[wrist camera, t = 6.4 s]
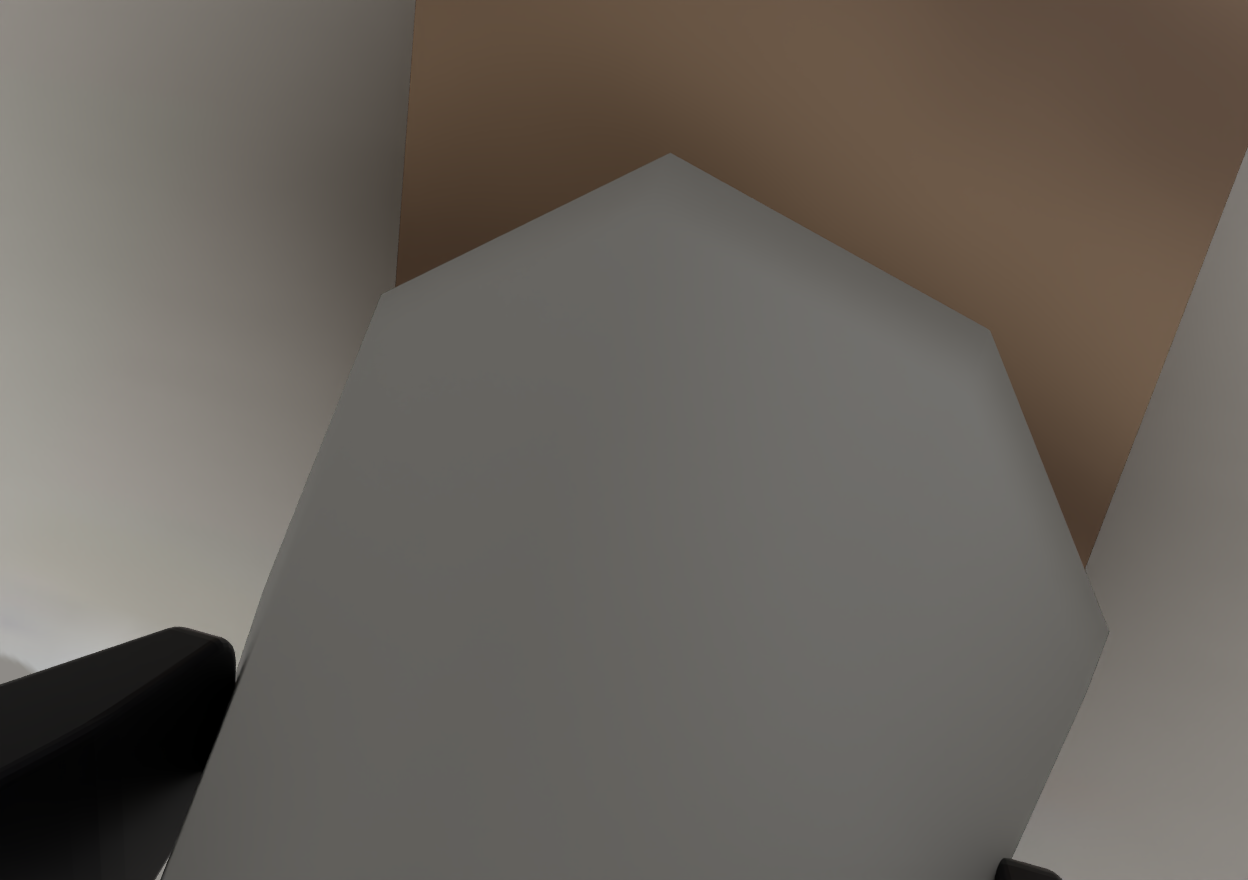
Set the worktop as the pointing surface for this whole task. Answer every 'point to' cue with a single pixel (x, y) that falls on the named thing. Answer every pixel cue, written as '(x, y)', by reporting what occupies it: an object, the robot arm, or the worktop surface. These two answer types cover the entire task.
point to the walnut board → (879, 160)
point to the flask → (656, 576)
